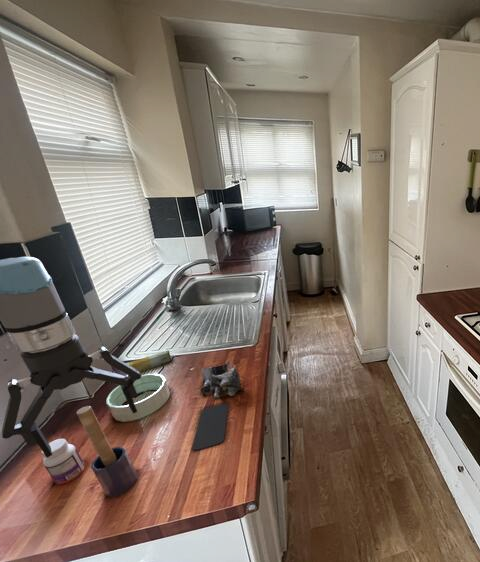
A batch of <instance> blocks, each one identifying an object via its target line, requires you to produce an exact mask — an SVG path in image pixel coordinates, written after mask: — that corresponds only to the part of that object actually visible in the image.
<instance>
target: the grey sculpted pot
mask: <svg viewBox="0 0 480 562" xmlns="http://www.w3.org/2000/svg"><path fill="white" fill-rule="evenodd" d="M235 363H236V365H238V364H237V362H235ZM230 364H231V366H233V367H231V368H230V369H229V367H230ZM236 365H234V364H233V363H232V362H231V361H227V362H226V363H224V364H222V365H217V366H206V367H205V366H204V367H201V376H202V384H203V386H201V388H200V393H201V394H204V396H209V395H211V394H214V395H213V398H214V399H219V398H224V397H226V396H227V395H228V396H229V397H232V396H234V397H235V394H236V393H238V391H242V384H241V375H240V373H239V371H238V369H237V368H236Z"/></svg>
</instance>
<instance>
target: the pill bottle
mask: <svg viewBox="0 0 480 562" xmlns="http://www.w3.org/2000/svg"><path fill="white" fill-rule="evenodd" d="M48 443H49V445H50V447H51V451H52V455H51V456H49V457H46V456H45V454H44V453H43V451H42V450H41V454H42V457H43V459H42V464H43V466H44V469H46V471H47V473H48V474H49V475H50V477H51V479H52V480H53V482H54V483H55V484H57V485H63V484H65V483H68V482H70V481H72V480H74V479H76V478H77V477H78V476H80V474H82V472H83V471H84V469H85V468H86V464H85V462H84V460H83V458H82V457H81V455H80V453H79V452H78V450H77V448H76V446H75V445H73V444H71V443H68V441H67V439H65V438H58V439H54V440H52V441H51V442H48Z"/></svg>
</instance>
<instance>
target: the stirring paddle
mask: <svg viewBox="0 0 480 562" xmlns="http://www.w3.org/2000/svg"><path fill="white" fill-rule="evenodd" d="M76 416H77V417H78V419H79V421H80V423H81V425H82V426H83V429H84V430H85V433H86V434H87V436H88V438H89V440H90V441H91V443H92V446H93V448H94V449H95V451H96V453H97V455H98V456H99V457H100V459H101V460H102V462H103V464H104V466H105V468H106V467H108V466H110V465H112V464H114V463H115V462H116V461H117V458H116V456H115V454H114V452H113V450H112V448H113V447H112V446H111V444H110V442H109V440H108V438H107V436H106V434H105V432H104V430H103V428H102V426H101V424H100V422H99V419H98V418H97V416H96V414H95V412H94V410H93V408H92V406H90V405H85V406H83V407H81V408H79V409H78V410H76Z"/></svg>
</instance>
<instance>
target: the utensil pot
mask: <svg viewBox="0 0 480 562" xmlns="http://www.w3.org/2000/svg"><path fill="white" fill-rule="evenodd" d="M111 448H112V450H113V452H114V454H115V456H116V458H117V461H116V462H115V463H114V464H112V465H110V466H108V467H106V468H105V466H104V464H103V462H102V460H101V459H100V457H99V455H98V456H96V457H95V459H94V460H93V461H92V463H91V466H90V468H91V469H90V470H92V473H93V474H94V476H95V477H96V479H97V481H98V483H99V485H100V487H101V488H102V490H103V492H104V494H105V496H106V497H111V498H114V497H118V496H120V495H122V494H124V493H125V492H127V491H129V490H130V488H132V487H133V486H134V485H135V483H136V482H137V480H138V472H137V471H136V468H135V466H134V464H133V463H132V459H131V458H130V456H129V454H128V452H127V449H125V447H124V446H114V447H111Z"/></svg>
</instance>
